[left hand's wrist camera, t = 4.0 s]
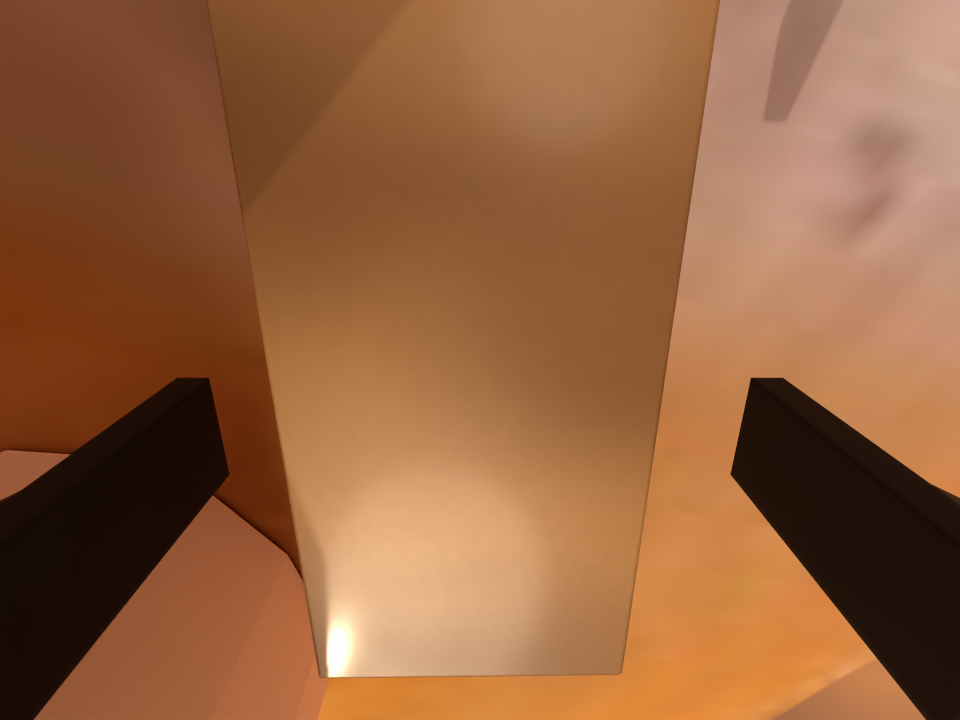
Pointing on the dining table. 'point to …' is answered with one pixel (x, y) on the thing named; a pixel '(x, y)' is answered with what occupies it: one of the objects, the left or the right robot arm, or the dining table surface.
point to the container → (195, 629)
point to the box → (466, 309)
